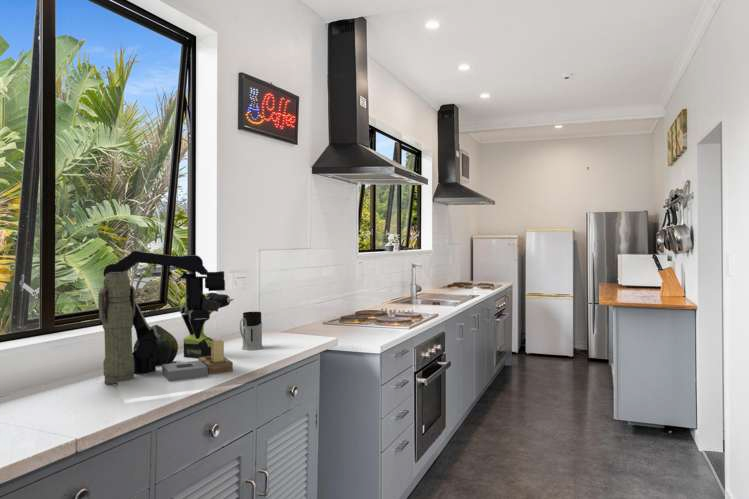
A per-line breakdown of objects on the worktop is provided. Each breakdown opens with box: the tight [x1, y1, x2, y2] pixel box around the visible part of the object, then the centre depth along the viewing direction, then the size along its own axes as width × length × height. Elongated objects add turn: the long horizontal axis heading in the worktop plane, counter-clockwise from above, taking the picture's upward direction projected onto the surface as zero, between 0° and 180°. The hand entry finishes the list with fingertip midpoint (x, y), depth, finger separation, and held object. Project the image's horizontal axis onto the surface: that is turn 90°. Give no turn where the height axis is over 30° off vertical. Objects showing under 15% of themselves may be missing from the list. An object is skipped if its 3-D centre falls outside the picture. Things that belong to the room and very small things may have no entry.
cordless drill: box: [179, 292, 235, 359], centre depth 213 cm, size 23×7×25 cm, turn 70°
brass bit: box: [211, 339, 225, 364], centre depth 186 cm, size 3×3×10 cm
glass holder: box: [239, 311, 264, 351], centre depth 227 cm, size 9×14×15 cm, turn 164°
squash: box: [133, 324, 179, 366], centre depth 200 cm, size 14×15×15 cm
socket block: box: [161, 359, 209, 382], centre depth 180 cm, size 12×12×4 cm
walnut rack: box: [198, 356, 234, 375], centre depth 189 cm, size 14×8×4 cm, turn 30°
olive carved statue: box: [97, 272, 136, 386], centre depth 174 cm, size 9×12×35 cm
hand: (194, 336), depth 189 cm, fingers open, 9 cm apart
